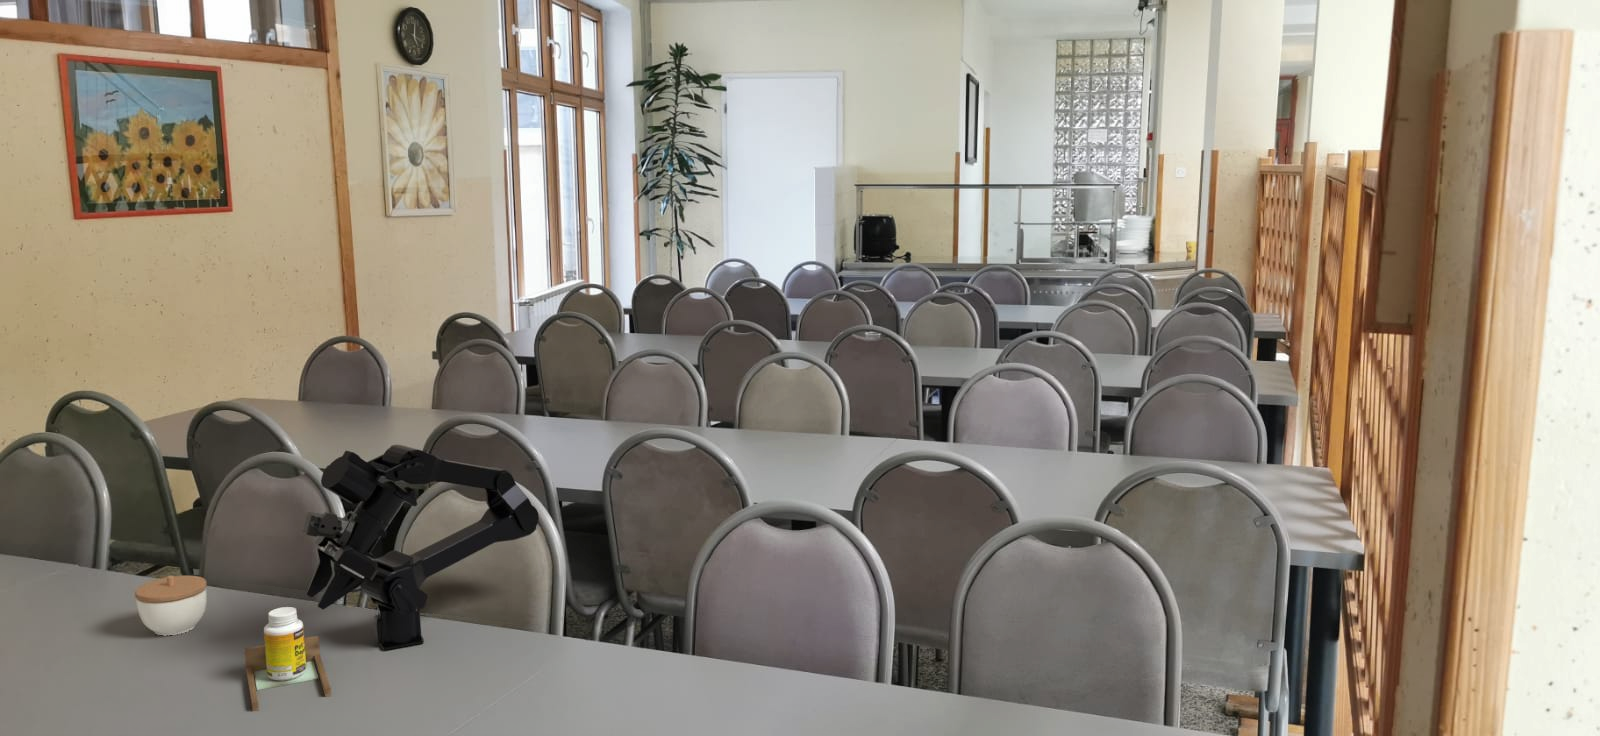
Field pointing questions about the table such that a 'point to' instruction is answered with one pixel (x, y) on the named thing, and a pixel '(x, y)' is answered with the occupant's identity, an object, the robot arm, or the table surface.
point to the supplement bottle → (284, 644)
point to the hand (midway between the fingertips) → (314, 601)
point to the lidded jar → (172, 604)
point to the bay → (258, 666)
